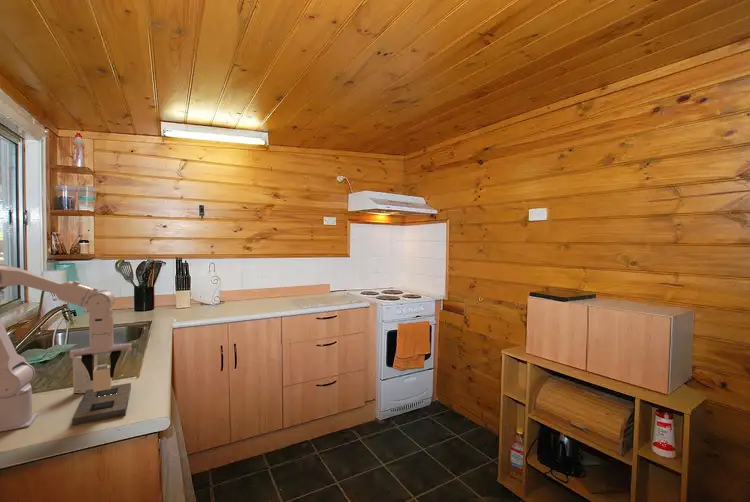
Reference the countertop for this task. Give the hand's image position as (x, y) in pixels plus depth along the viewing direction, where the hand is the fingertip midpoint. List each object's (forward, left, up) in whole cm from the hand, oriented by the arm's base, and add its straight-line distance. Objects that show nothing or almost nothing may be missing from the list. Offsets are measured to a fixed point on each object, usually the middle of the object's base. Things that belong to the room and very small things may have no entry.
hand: (102, 378), depth 109 cm
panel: (0, +4, -10) cm, 11 cm away
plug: (0, 0, -3) cm, 3 cm away
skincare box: (-7, +21, -10) cm, 25 cm away
